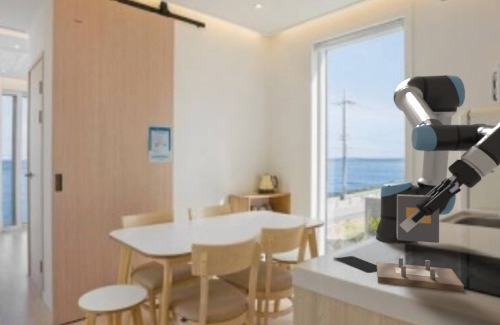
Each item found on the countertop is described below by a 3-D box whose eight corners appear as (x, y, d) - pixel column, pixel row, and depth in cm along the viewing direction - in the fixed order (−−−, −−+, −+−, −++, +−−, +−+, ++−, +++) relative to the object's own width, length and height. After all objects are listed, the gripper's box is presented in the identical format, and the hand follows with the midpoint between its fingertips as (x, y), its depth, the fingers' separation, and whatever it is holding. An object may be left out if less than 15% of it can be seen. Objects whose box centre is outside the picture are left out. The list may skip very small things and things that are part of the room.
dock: (451, 274, 101) (451, 260, 101) (463, 291, 88) (463, 275, 88) (376, 266, 107) (376, 253, 107) (377, 282, 94) (377, 267, 94)
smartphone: (367, 272, 101) (334, 258, 115) (367, 274, 101) (334, 260, 115) (386, 268, 104) (352, 255, 118) (386, 271, 104) (352, 257, 118)
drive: (435, 239, 98) (436, 195, 98) (439, 243, 93) (439, 197, 93) (396, 236, 101) (396, 194, 101) (397, 240, 96) (398, 195, 96)
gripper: (494, 180, 83) (416, 244, 89) (472, 177, 101) (408, 230, 106) (468, 157, 85) (394, 221, 90) (451, 158, 102) (390, 212, 108)
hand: (402, 226), depth 98 cm, fingers closed on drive, 5 cm apart
